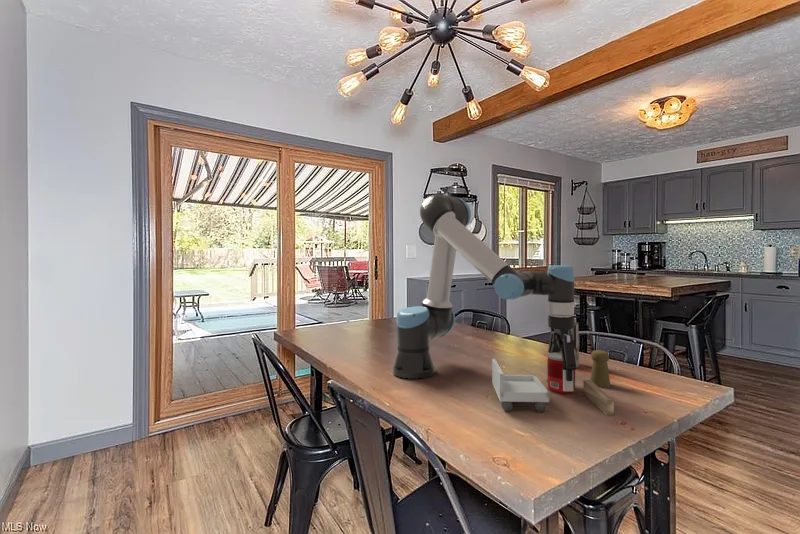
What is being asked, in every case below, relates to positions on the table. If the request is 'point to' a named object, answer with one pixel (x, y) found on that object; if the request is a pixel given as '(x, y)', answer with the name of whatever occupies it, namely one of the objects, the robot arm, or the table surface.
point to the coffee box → (575, 341)
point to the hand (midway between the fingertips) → (561, 383)
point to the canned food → (557, 374)
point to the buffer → (598, 397)
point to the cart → (518, 389)
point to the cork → (600, 369)
